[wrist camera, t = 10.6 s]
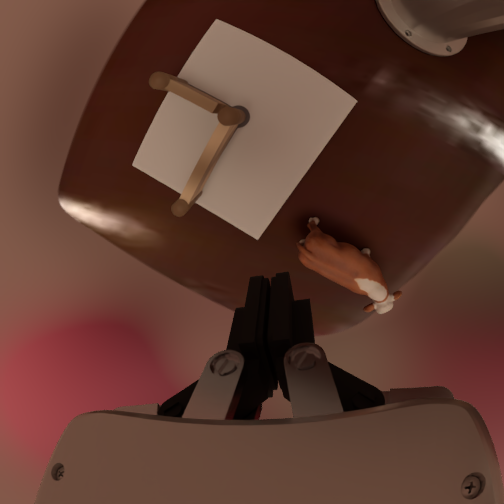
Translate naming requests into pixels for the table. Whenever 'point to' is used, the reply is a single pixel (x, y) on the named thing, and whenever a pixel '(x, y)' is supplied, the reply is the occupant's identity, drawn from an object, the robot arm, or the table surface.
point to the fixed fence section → (185, 91)
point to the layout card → (245, 126)
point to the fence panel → (208, 158)
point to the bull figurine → (346, 267)
